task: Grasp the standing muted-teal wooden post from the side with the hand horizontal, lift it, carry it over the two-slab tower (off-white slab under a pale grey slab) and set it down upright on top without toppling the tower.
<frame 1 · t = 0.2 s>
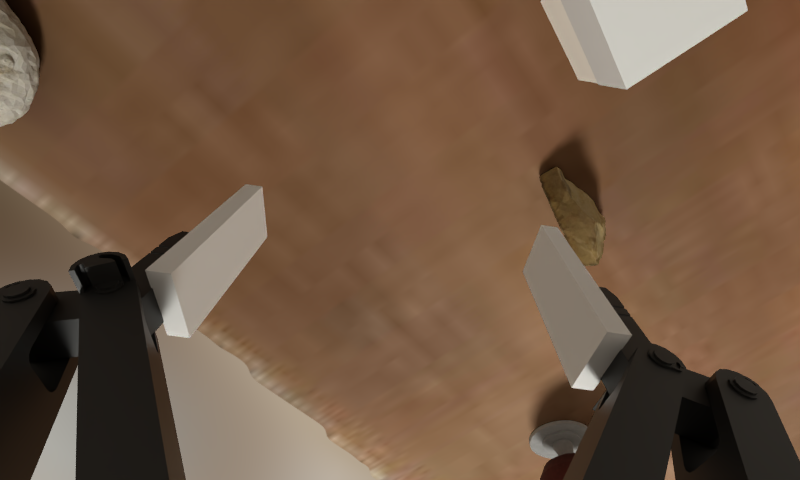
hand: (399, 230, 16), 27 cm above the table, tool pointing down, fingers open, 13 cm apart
mate gourd: (556, 439, 69), on the table
tower top: (628, 5, 29), point 5 cm above the table
tower base: (601, 10, 34), on the table
rock: (569, 198, 44), on the table
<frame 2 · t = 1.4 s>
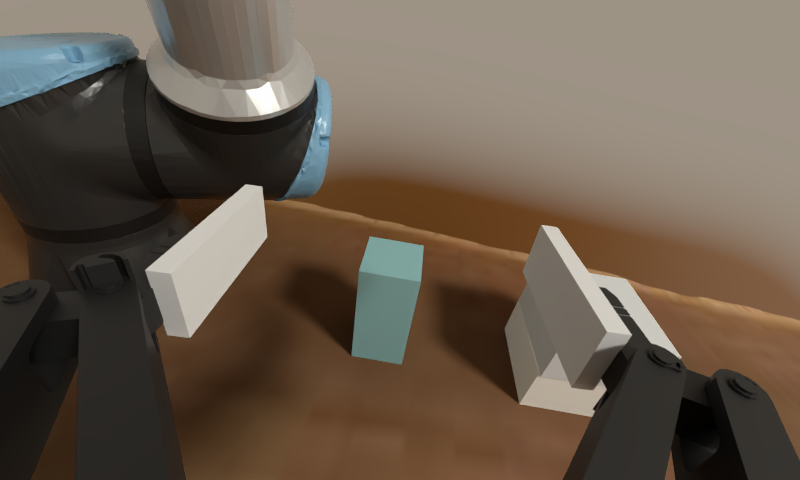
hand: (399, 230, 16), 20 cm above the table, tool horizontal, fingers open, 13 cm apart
teal post: (380, 339, 35), on the table
tower top: (574, 341, 32), point 5 cm above the table, touching tower base
tower base: (553, 370, 35), on the table, touching tower top
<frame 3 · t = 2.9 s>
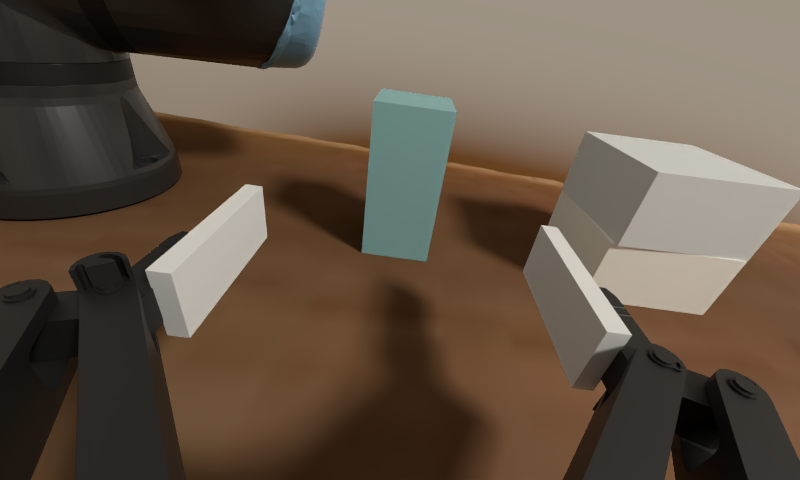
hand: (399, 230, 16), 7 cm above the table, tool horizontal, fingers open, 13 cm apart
teal post: (396, 240, 28), on the table
tower top: (642, 220, 26), point 5 cm above the table, touching tower base
tower base: (611, 271, 28), on the table, touching tower top
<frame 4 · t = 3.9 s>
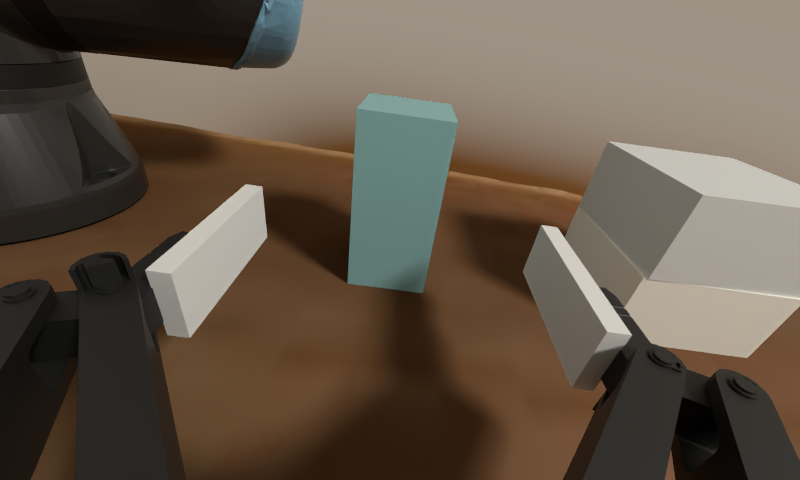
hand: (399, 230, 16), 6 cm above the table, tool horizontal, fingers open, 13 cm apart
teal post: (388, 266, 24), on the table
tower top: (673, 244, 22), point 5 cm above the table, touching tower base
tower base: (635, 301, 25), on the table, touching tower top
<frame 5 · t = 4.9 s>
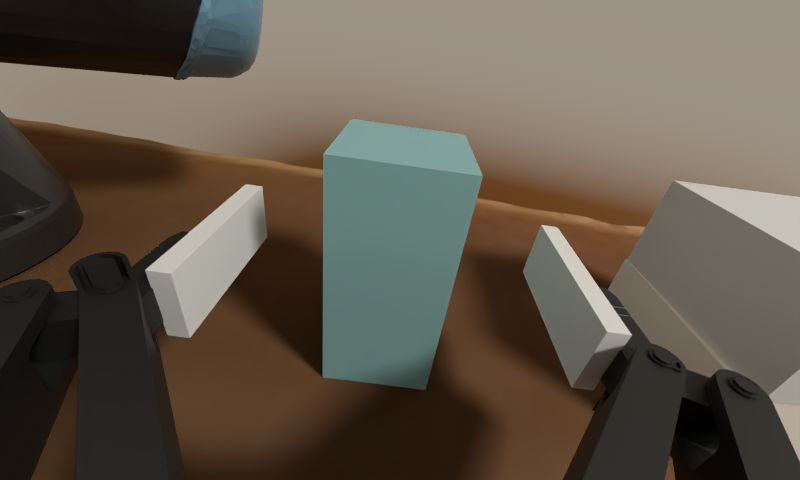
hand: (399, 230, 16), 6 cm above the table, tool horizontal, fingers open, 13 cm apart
teal post: (379, 343, 18), on the table
tower top: (767, 323, 16), point 5 cm above the table, touching tower base
tower base: (703, 387, 19), on the table, touching tower top
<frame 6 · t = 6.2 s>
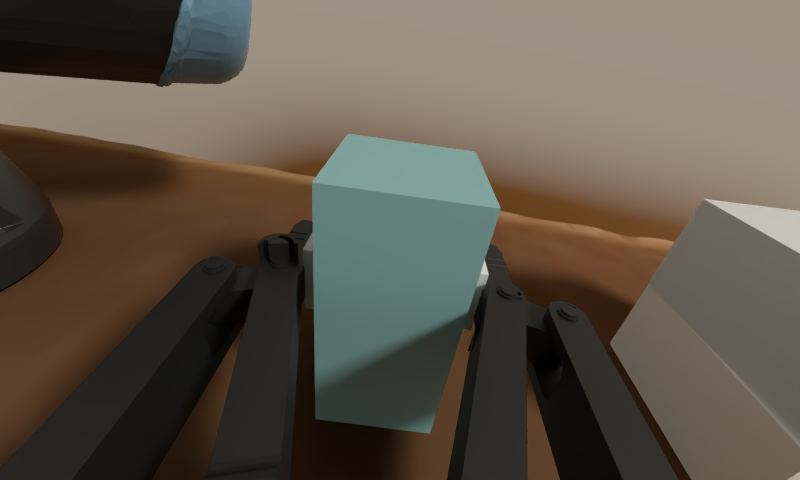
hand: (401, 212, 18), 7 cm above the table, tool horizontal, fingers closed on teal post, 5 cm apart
teal post: (379, 376, 17), on the table, touching gripper
tower base: (736, 426, 17), on the table, touching tower top
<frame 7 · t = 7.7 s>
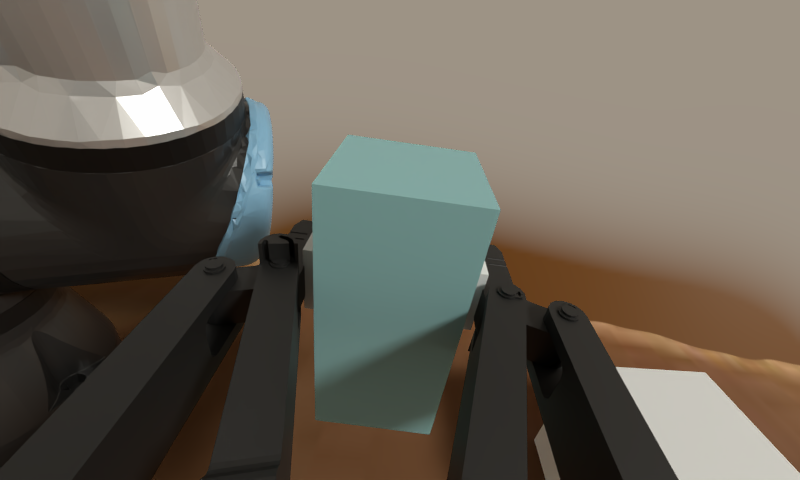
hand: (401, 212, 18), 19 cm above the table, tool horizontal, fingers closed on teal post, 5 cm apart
teal post: (379, 377, 17), point 12 cm above the table, touching gripper
tower top: (651, 479, 21), point 5 cm above the table
when the fingers open (18 cm above the table, at t = 11.8 s): teal post drops 2 cm, resting on tower top.
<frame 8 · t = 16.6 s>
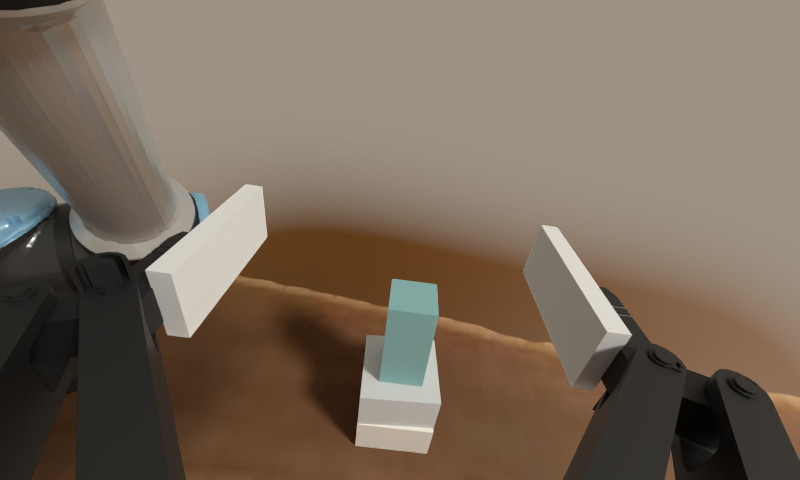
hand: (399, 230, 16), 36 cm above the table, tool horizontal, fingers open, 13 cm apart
teal post: (401, 365, 41), point 10 cm above the table, touching tower top
tower top: (396, 391, 43), point 5 cm above the table, touching teal post, tower base
tower base: (393, 415, 46), on the table, touching tower top
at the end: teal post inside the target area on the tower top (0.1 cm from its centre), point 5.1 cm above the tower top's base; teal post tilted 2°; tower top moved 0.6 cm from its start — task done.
